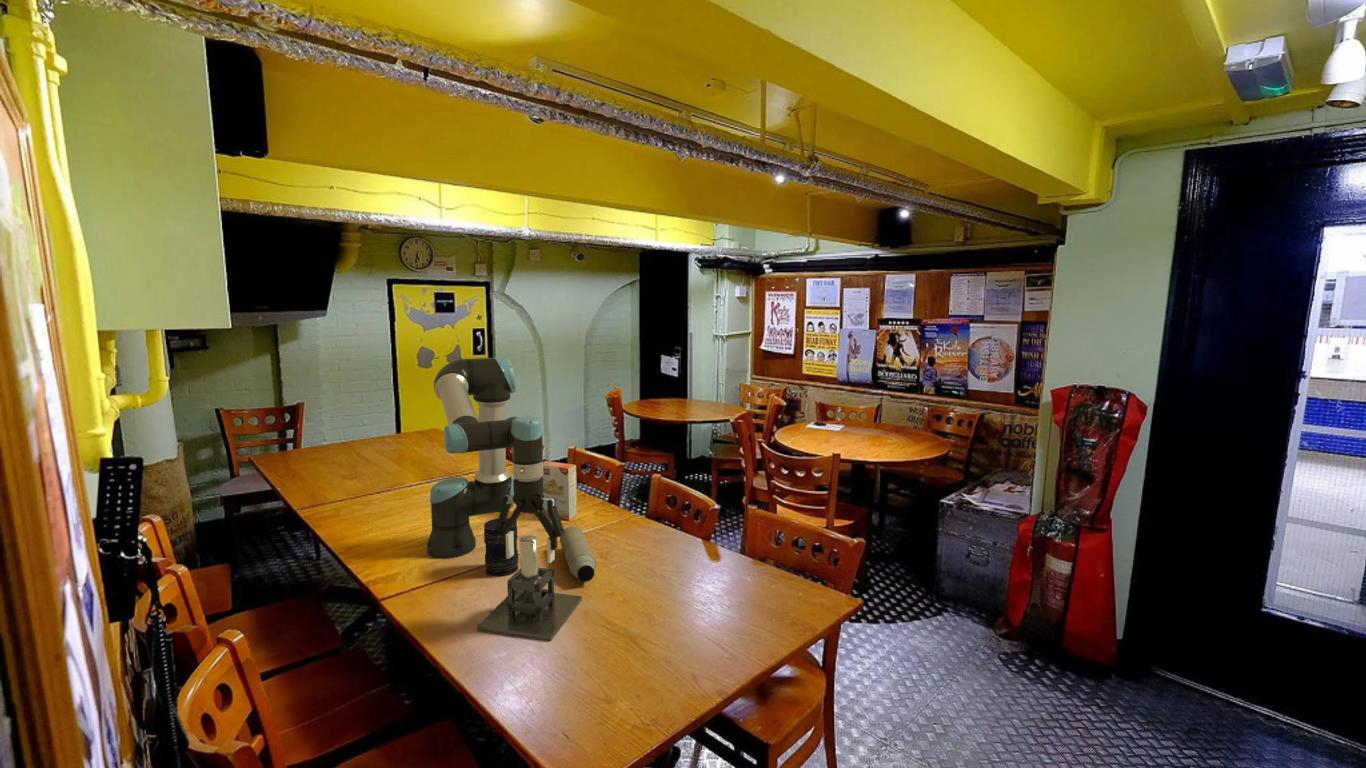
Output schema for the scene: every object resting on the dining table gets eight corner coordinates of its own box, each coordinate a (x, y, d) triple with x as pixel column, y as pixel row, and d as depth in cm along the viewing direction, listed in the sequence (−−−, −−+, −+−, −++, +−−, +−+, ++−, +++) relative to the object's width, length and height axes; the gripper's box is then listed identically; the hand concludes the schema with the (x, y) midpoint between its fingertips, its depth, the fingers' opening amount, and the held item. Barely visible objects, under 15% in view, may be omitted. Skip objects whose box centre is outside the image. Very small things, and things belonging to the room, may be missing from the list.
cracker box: (538, 516, 223) (536, 463, 220) (547, 511, 228) (546, 460, 225) (568, 521, 217) (568, 468, 215) (577, 516, 223) (576, 464, 220)
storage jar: (500, 580, 171) (498, 532, 169) (478, 571, 176) (476, 525, 174) (525, 567, 179) (524, 521, 177) (503, 559, 185) (502, 515, 182)
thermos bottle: (587, 530, 194) (604, 566, 168) (576, 551, 194) (592, 590, 168) (566, 522, 192) (580, 557, 165) (555, 544, 191) (567, 582, 165)
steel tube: (519, 614, 150) (515, 541, 147) (527, 604, 155) (524, 534, 152) (535, 616, 149) (532, 543, 146) (543, 606, 154) (540, 536, 151)
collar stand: (477, 630, 144) (475, 588, 143) (515, 592, 164) (514, 555, 162) (550, 640, 140) (550, 598, 139) (581, 600, 160) (581, 562, 158)
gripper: (479, 478, 146) (482, 560, 149) (564, 485, 141) (566, 569, 144) (494, 470, 153) (497, 548, 156) (576, 476, 148) (577, 557, 151)
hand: (530, 558), depth 150 cm, fingers open, 11 cm apart
